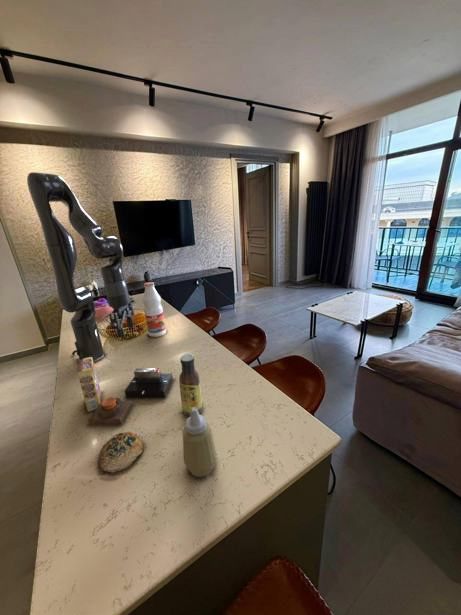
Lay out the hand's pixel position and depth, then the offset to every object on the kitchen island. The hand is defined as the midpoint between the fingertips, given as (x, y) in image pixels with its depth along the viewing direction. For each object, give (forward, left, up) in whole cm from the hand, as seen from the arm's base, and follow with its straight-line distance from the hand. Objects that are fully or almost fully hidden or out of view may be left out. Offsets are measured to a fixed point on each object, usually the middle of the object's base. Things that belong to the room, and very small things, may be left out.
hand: (126, 332), depth 99 cm
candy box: (-6, -19, -18) cm, 27 cm away
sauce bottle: (+29, -23, -18) cm, 41 cm away
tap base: (+11, -12, -17) cm, 24 cm away
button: (+3, -25, -14) cm, 29 cm away
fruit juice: (-2, +34, -18) cm, 38 cm away
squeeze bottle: (+35, -42, -18) cm, 57 cm away
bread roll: (+13, -39, -18) cm, 45 cm away
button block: (+3, -25, -17) cm, 30 cm away
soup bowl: (-48, +61, -17) cm, 80 cm away
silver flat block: (+11, -12, -14) cm, 22 cm away
